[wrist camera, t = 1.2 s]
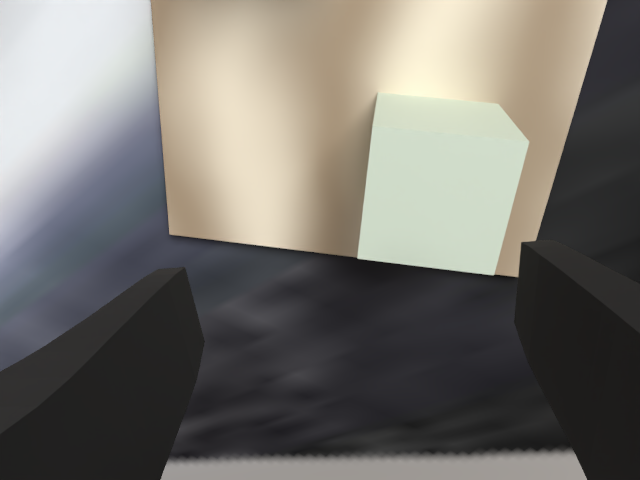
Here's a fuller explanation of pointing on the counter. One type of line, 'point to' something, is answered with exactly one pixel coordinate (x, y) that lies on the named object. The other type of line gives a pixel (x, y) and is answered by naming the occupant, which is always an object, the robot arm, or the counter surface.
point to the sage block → (440, 183)
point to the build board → (347, 104)
